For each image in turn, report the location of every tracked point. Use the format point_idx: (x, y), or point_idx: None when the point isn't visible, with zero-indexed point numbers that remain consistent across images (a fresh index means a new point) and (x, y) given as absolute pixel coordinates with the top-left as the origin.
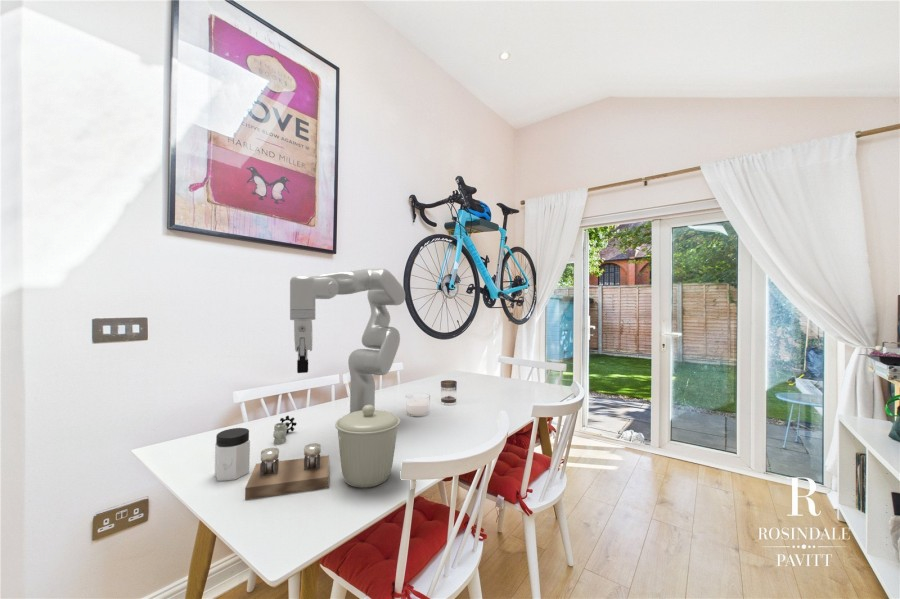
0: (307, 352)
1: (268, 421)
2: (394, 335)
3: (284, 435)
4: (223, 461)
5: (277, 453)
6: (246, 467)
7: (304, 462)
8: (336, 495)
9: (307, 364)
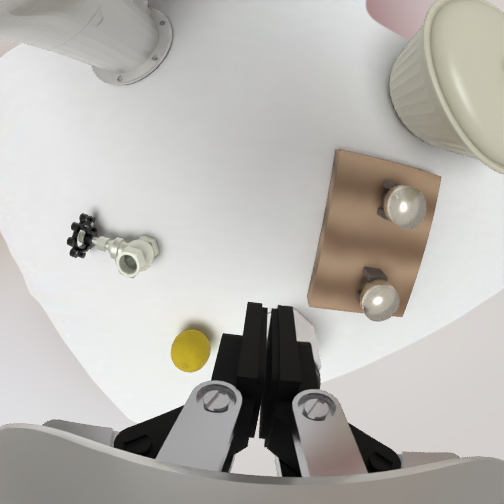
0: (168, 437)
1: (32, 265)
2: None
3: (148, 244)
4: None
5: (392, 287)
6: (299, 318)
7: None
8: (457, 168)
9: (296, 352)
